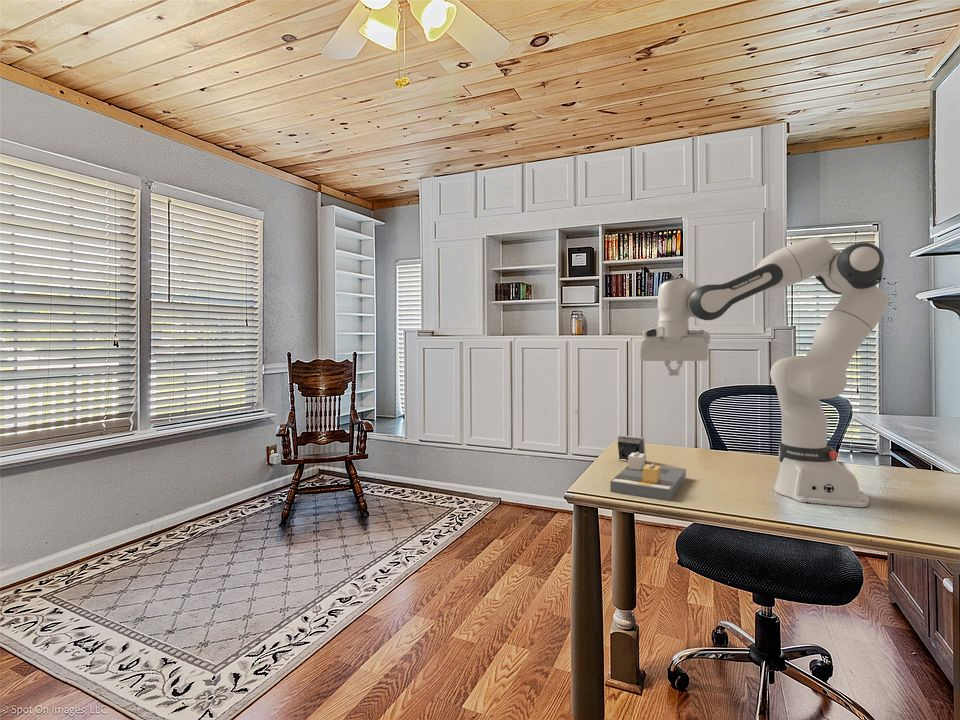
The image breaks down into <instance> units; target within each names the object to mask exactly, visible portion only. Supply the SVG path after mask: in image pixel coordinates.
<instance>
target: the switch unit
mask: <svg viewBox="0 0 960 720" xmlns="http://www.w3.org/2000/svg"><path fill="white" fill-rule="evenodd" d="M647 464H649V463H645V466H646V465H647ZM649 465H651V464H649ZM656 465H657V464H656ZM657 466H659V465H657ZM660 466H661V479H660V480H659V482H658V483H657V484H655V483H648V482H643V468H642V469H641V470H637V469H629V468H628V465H627V466H626V467H625V468H624V469H623V470H622V471H620V472H619V473H618V474H617V475H615V476H614V477H613V479H611V480H610V482H609V483H610V484H609V485H610V488H609V489H610V490H609V491H610V492H611V493H612V492H613V493H618V494H623V495H624V494H625V495H629V496H630V495H631V496H636V497H637V496H638V497H644V498H651V499H658V500H664V501H670V502H671V501H672V500H673V498H674V496H675V495H676V493H678V491H679V489H680V487H682V485H683V483H684V482H685V480H686V479H685V478H687V469H686V468H681V467H674V466H665V465H660ZM683 481H684V482H683ZM681 484H682V485H681Z"/></svg>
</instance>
